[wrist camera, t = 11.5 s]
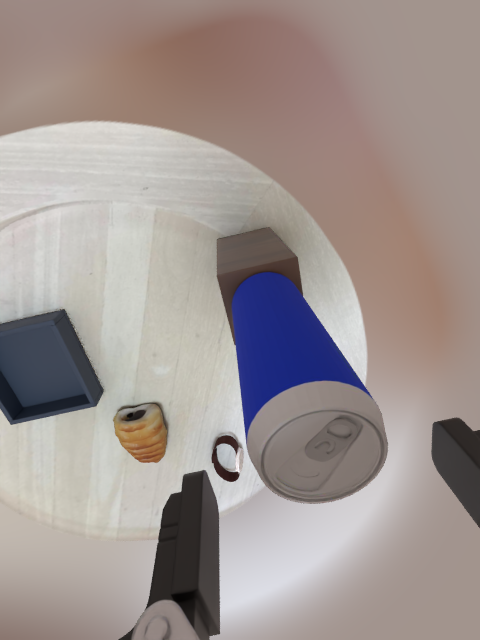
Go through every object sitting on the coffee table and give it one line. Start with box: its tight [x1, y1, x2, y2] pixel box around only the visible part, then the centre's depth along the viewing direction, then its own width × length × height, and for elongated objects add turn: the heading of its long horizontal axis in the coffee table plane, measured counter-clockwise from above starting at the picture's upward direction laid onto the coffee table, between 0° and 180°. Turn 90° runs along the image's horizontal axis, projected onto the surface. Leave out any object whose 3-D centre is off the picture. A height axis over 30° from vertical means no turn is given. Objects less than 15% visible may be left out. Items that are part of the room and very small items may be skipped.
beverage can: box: [232, 272, 388, 504], centre depth 18 cm, size 5×5×15 cm
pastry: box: [113, 404, 167, 463], centre depth 45 cm, size 9×7×4 cm
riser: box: [217, 227, 303, 345], centre depth 32 cm, size 6×6×14 cm
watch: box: [212, 435, 243, 482], centre depth 48 cm, size 8×5×4 cm, turn 5°
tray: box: [0, 310, 104, 425], centre depth 40 cm, size 12×11×3 cm
